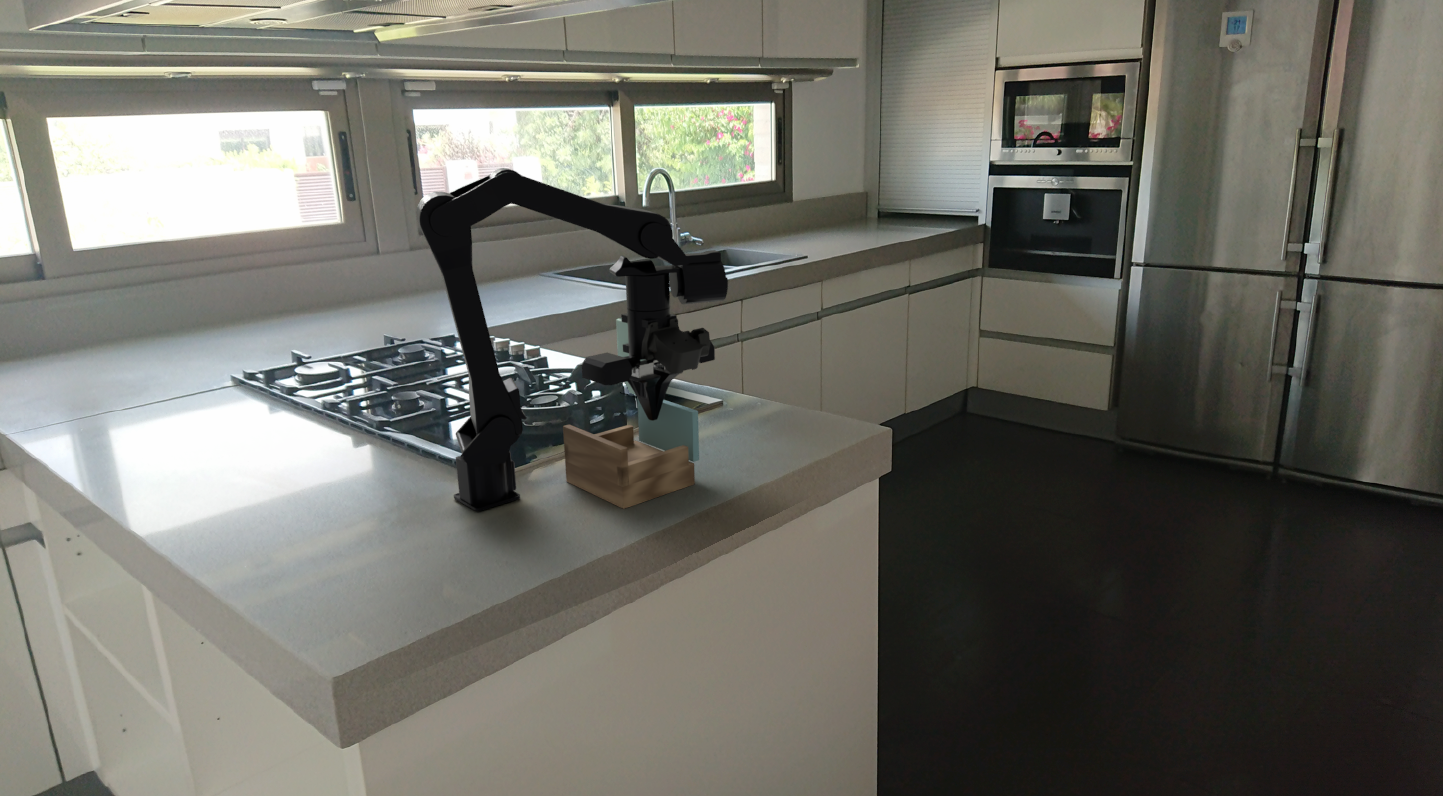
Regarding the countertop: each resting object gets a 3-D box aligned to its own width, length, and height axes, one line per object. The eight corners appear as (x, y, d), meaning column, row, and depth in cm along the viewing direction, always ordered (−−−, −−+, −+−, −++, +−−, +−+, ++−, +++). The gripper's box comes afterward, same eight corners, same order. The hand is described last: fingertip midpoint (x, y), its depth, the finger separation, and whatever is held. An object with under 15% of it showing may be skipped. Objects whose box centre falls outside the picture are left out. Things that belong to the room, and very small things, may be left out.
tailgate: (693, 461, 129) (692, 412, 126) (639, 440, 137) (637, 394, 135) (703, 458, 130) (702, 409, 128) (648, 437, 138) (647, 391, 136)
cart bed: (623, 508, 121) (620, 449, 119) (566, 481, 130) (562, 426, 128) (694, 484, 129) (693, 428, 127) (636, 459, 138) (633, 407, 136)
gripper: (628, 328, 114) (634, 450, 118) (741, 305, 126) (742, 417, 130) (576, 314, 122) (583, 430, 126) (687, 294, 134) (689, 400, 138)
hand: (652, 419), depth 130 cm, fingers closed
